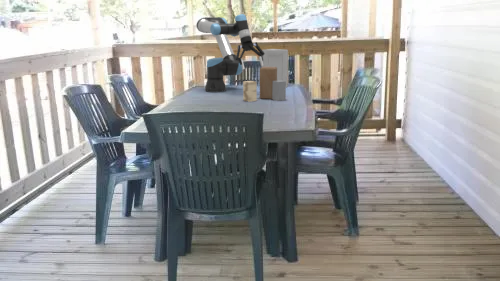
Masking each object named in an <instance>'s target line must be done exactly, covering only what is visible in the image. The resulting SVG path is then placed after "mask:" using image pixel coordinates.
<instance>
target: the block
mask: <svg viewBox="0 0 500 281" xmlns="http://www.w3.org/2000/svg"><path fill="white" fill-rule="evenodd" d="M273 81H277V67H260V68H259V99H261V100H272V86H273Z"/></svg>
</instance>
